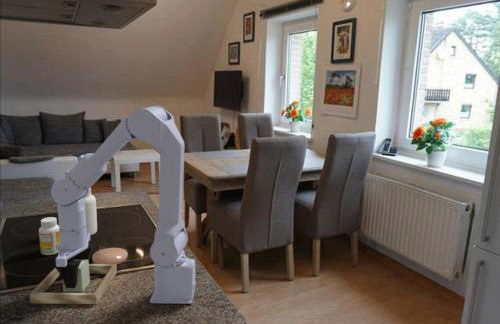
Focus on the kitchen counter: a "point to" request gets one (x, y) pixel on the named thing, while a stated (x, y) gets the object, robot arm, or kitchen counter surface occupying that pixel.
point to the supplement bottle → (49, 236)
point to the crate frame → (74, 298)
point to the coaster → (109, 256)
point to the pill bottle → (90, 213)
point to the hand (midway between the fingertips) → (76, 280)
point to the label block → (80, 278)
